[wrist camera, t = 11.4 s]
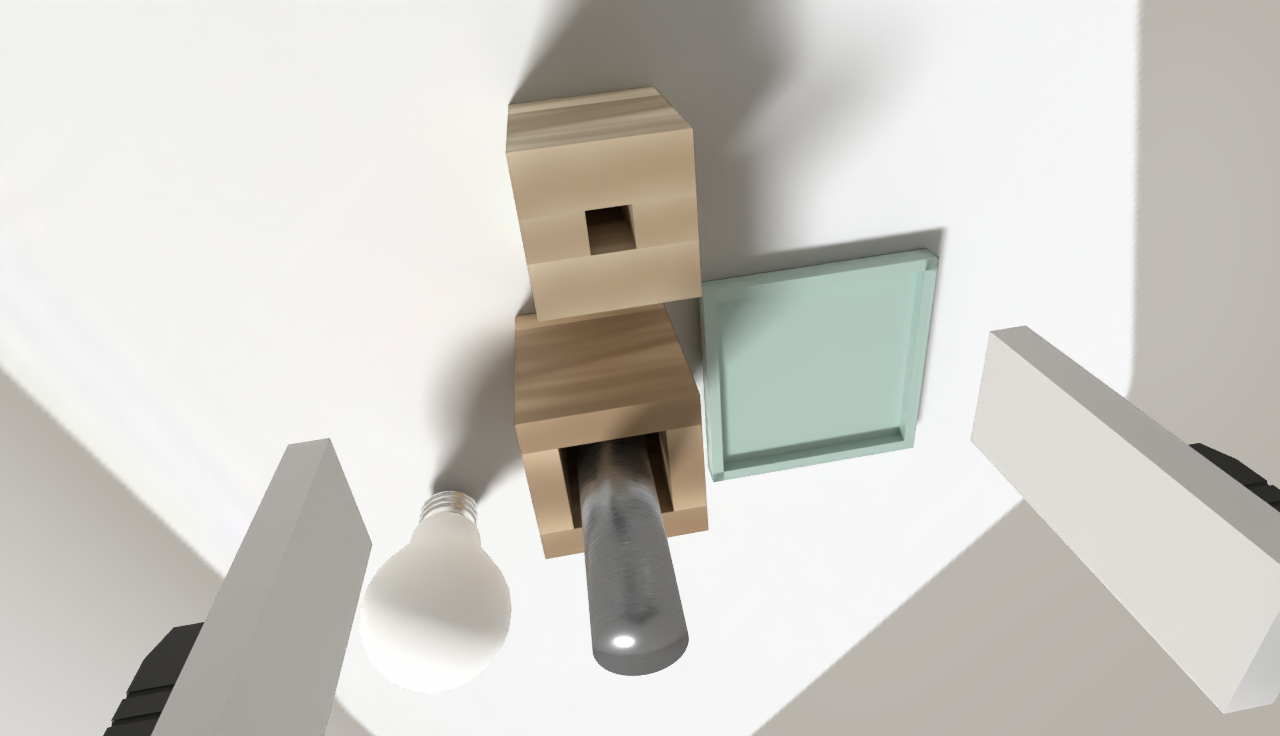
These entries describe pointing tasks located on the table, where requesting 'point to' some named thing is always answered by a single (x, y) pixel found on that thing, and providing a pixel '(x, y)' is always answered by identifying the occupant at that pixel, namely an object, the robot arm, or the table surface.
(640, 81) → the table surface
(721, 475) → the tray
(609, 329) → the wide-bore block
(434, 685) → the light bulb
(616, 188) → the narrow-bore block
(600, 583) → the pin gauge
